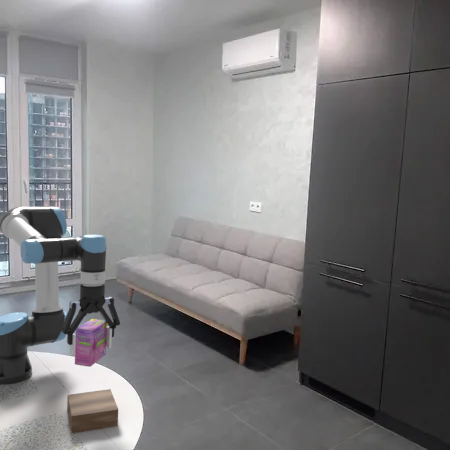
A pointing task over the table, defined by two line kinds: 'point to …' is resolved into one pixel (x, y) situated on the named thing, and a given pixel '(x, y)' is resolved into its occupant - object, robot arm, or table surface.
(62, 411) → the table surface
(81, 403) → the walnut block
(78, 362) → the box
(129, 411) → the table surface
